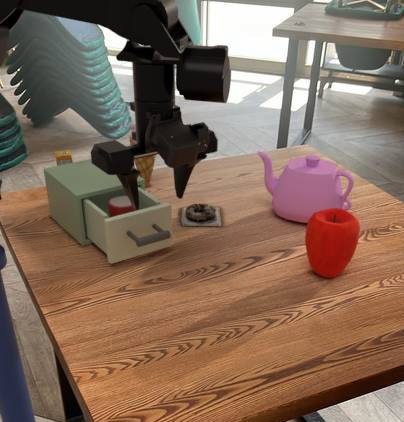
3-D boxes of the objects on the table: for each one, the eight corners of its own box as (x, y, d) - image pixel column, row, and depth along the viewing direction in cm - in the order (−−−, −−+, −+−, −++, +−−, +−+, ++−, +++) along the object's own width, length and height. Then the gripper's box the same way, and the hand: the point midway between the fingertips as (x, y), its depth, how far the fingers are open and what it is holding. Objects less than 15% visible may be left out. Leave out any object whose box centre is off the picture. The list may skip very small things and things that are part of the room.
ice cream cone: (163, 191, 124) (162, 119, 115) (136, 194, 122) (132, 122, 113) (154, 179, 129) (152, 109, 119) (127, 183, 127) (123, 112, 118)
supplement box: (60, 198, 120) (54, 150, 114) (77, 196, 121) (71, 149, 115) (62, 205, 118) (55, 156, 111) (79, 203, 118) (73, 154, 112)
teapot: (352, 207, 120) (363, 150, 112) (344, 235, 110) (356, 175, 102) (259, 193, 124) (264, 138, 117) (243, 219, 114) (248, 160, 107)
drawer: (186, 256, 100) (186, 214, 95) (124, 276, 95) (120, 233, 90) (135, 217, 112) (133, 178, 107) (76, 233, 106) (71, 193, 101)
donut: (181, 207, 118) (181, 198, 116) (219, 208, 118) (220, 198, 117) (181, 226, 111) (181, 216, 110) (221, 226, 111) (221, 216, 110)
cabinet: (147, 228, 110) (145, 179, 104) (82, 246, 104) (76, 195, 98) (111, 201, 120) (108, 155, 113) (50, 216, 113) (43, 168, 107)
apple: (306, 255, 103) (315, 198, 96) (355, 264, 101) (367, 207, 94) (294, 278, 97) (303, 219, 90) (345, 289, 95) (358, 229, 88)
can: (119, 244, 101) (116, 209, 97) (106, 233, 104) (103, 199, 100) (143, 237, 103) (142, 203, 99) (130, 226, 106) (128, 193, 102)
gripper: (123, 123, 70) (130, 238, 80) (243, 101, 79) (236, 208, 88) (83, 101, 77) (95, 210, 87) (197, 83, 86) (196, 184, 95)
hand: (158, 203), depth 89 cm, fingers open, 7 cm apart
